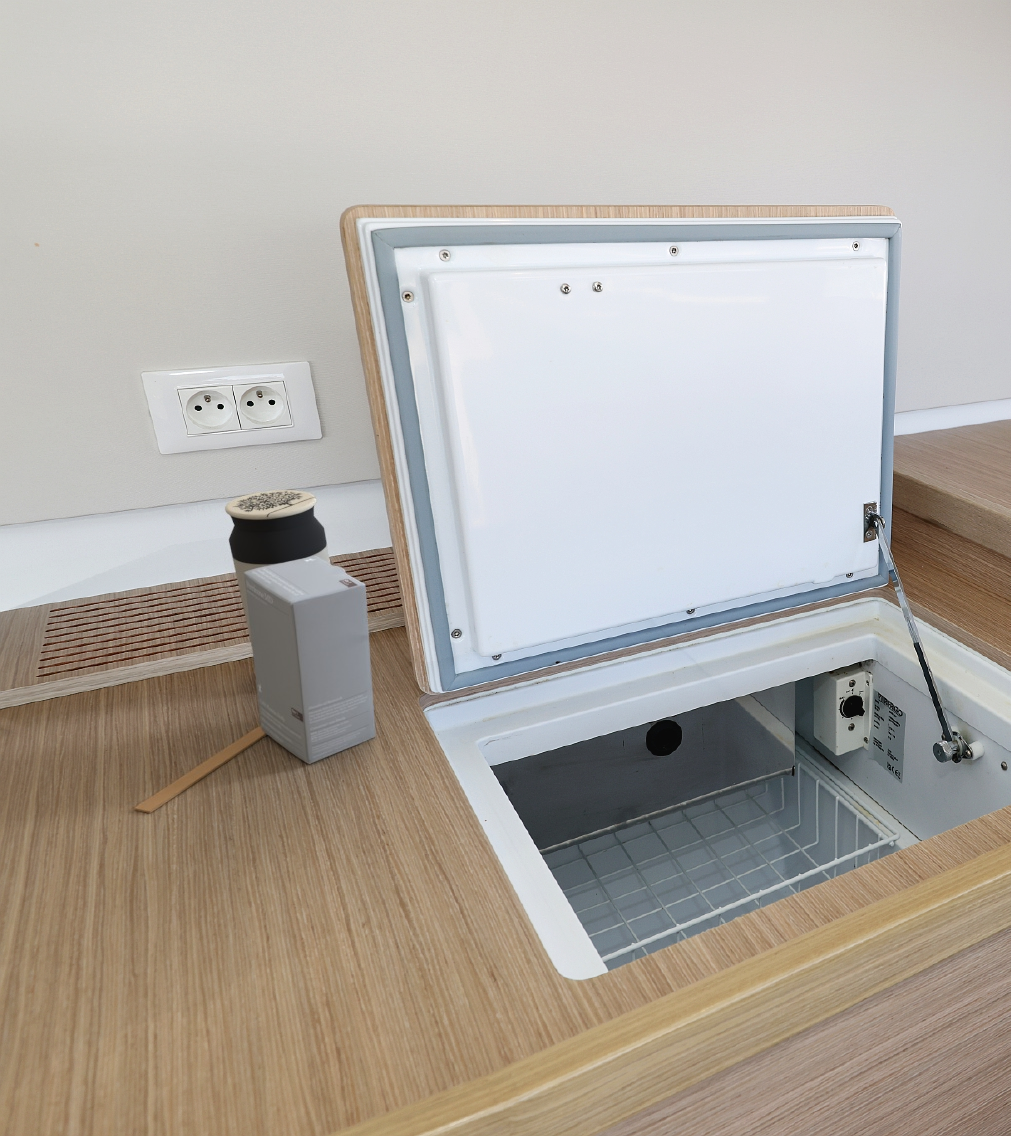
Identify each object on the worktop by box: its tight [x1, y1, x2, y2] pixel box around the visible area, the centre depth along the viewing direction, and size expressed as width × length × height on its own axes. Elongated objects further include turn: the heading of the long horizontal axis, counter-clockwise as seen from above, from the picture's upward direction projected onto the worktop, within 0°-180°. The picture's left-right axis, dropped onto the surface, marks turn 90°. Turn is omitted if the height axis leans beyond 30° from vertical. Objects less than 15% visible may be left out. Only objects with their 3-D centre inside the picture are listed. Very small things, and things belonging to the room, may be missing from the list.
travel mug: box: [224, 489, 331, 651], centre depth 93 cm, size 8×8×18 cm
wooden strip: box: [133, 724, 268, 814], centre depth 83 cm, size 2×18×1 cm, turn 167°
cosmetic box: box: [243, 556, 377, 765], centre depth 83 cm, size 8×7×16 cm
